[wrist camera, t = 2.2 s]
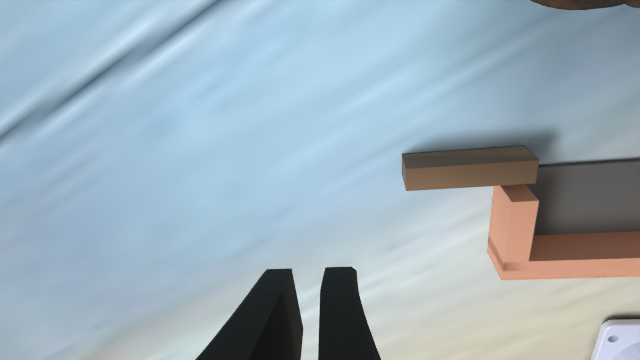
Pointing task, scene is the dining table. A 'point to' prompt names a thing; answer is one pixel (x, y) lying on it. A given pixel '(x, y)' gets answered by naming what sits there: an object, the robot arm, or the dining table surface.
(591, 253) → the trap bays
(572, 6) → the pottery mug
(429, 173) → the channel
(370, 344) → the robot arm
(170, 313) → the dining table surface
